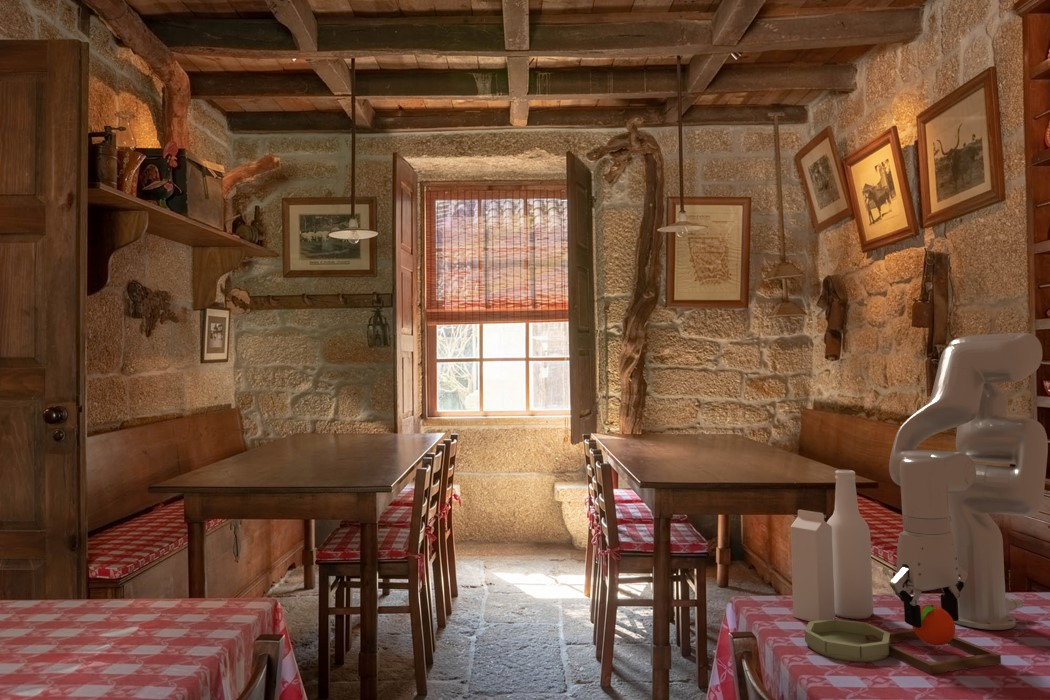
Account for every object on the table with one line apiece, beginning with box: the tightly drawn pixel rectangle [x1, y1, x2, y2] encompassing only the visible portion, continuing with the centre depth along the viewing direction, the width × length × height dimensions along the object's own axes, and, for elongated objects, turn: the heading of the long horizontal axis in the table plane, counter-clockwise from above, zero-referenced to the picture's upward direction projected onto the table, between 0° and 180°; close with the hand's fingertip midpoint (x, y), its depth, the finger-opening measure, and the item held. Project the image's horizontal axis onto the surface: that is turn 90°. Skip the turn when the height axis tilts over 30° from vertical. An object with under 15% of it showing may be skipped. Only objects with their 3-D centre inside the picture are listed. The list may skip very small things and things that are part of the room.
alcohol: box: [826, 469, 874, 620], centre depth 153 cm, size 9×9×30 cm
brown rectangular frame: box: [866, 628, 1002, 675], centre depth 130 cm, size 15×15×2 cm
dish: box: [804, 618, 891, 663], centre depth 133 cm, size 14×14×3 cm
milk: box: [789, 509, 836, 622], centre depth 150 cm, size 6×6×22 cm
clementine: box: [911, 604, 956, 646], centre depth 130 cm, size 8×7×7 cm
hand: (931, 621), depth 130 cm, fingers closed on clementine, 7 cm apart
